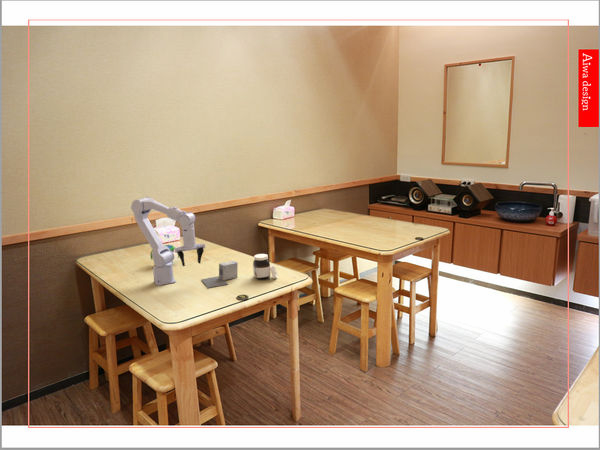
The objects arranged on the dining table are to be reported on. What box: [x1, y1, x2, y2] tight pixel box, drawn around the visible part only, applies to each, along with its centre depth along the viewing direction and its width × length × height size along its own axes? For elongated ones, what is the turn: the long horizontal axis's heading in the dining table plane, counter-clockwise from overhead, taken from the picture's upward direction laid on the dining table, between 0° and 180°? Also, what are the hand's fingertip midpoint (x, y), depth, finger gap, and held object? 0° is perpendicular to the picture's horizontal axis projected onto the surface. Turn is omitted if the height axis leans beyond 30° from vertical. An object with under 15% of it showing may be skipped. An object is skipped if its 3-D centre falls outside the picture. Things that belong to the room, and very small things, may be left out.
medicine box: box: [218, 260, 238, 281], centre depth 226 cm, size 8×4×9 cm
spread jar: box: [252, 253, 279, 281], centre depth 225 cm, size 12×11×12 cm
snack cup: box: [150, 244, 180, 264], centre depth 252 cm, size 16×10×10 cm
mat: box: [200, 275, 229, 289], centre depth 222 cm, size 10×13×1 cm
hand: (191, 264), depth 218 cm, fingers open, 7 cm apart
